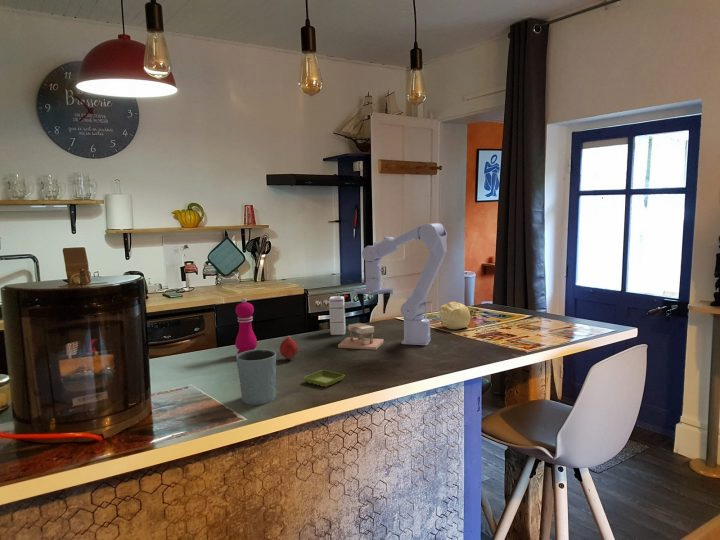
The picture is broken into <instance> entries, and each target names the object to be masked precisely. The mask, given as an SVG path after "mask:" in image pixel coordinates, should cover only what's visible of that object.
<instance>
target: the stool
mask: <svg viewBox="0 0 720 540" xmlns="http://www.w3.org/2000/svg"><path fill="white" fill-rule="evenodd" d="M347 326H348V331H349V337H350V341H353V338H354V333H357V338H358V340H361V345H365V338H366V335H367V334H369V338H370V344H372V343H373V339H374V333H375V326H372V325H369V324H366V323H361V322H356V323H350V324H347Z"/></svg>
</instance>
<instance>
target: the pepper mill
mask: <svg viewBox="0 0 720 540" xmlns="http://www.w3.org/2000/svg"><path fill="white" fill-rule="evenodd" d="M247 301H248V299H247V298H246V297H243V298H242V299H241V302H239V303H238V304H237V305H236V307H235V314H236V315H237V322H238V325H239V326H238V327H239V328H238V332H237V336H236V338H235V347H236V349H238V350H237V354H236V356H237V355H238V354H240V353H242V352H245V351H249V350H256V347H257V346H258V340H257V336H256V335H255V332H254V330H253V326H252V321H253V320H254V319H253V318H254V316H253V314H254V311H255V309H254V308H255V307H254V305H253V304H252V303H250V302H247Z"/></svg>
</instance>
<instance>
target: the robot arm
mask: <svg viewBox="0 0 720 540" xmlns="http://www.w3.org/2000/svg"><path fill="white" fill-rule="evenodd" d="M447 238H448V232H447V231H446V228H445V226H444V225H443V224H442V223H440V222H434V223H424V224H422V225H419V226H418V225H417V226H416V227H414V228H412V229H409V230H407V231H405V232H404V233H401V234H400V235H398V236H396V237H392V236H385V237H383V240H381V241H377V242H376V241H375V242H373V244H372V245H366V246H365V247H364V248H363V249H362V253H361V255H362V258H363V259H364V261H365V262H364V267H365V268H364V269H365V288H355V289H353V293H354V294H353V295H354V296H356V297H357V299H358V302H359V304H360V306H361V309H362V310H361V311H362V314H363V315H365V313H366V312H365V311H366V309H365V295H382V297H383V298H382V299H383V300H382V301H383V302H382V303H383V307H382V314H386V310H387V306H388V303H389V301H390V297H391V295H393V294H394V289H393V288H387V287H382V276H381V275H382V274H381V273H382V272H381V264H382V259H383V258H385V257H387V256H389V255H390V254H393V253H395V252H397V251H398V249H399V246H401V245H404V244H406V243H410V242H411V241H414V240H421V241H422V242H423V243H424V244H425V246H426V247H427V249H428V251H429V255H428V258H427V260H426V261H425V264H424V265H423V269H422V271H421V273H420V276H419V278H418V280H417V283H416V284H415V286H414V289H413V291H412V292H411V293H410V295H409V296H408V297H407V299H406V301H405V302H403V304H401V307H400V313H401V316H402V317H403V335H404V336H403V340H402V341H401V345H411V346H412V345H413V346H417V345H418V346H419V345H420V346H428V345H429V344H430V342H431V340H432V339H431V320H430V318H425V316H424V313H426V311H427V302H428V300H429V299H428V295H429V293H430V291H431V290H432V289H431V288H432V286H433V284H434V282H435V279H436V278H437V276H438V273H439V271H440V269H441V267H442V264H443V262H444V260H445V258H446V256H447V254H448V246H447Z"/></svg>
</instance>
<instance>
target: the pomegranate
mask: <svg viewBox="0 0 720 540" xmlns="http://www.w3.org/2000/svg"><path fill="white" fill-rule="evenodd" d="M298 349H299V348H298V344H297V343H296V341H295V340H294V339H292V338H291V336H290V335H288V336H286V338H285V339H283V341H281V343H280V346H279V353H280V354H281V356H283V357H284V358H285V359H287V360H289V361H290V359H291V360H292V359H293V358H294V356H296V354H297V353H298Z"/></svg>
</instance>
